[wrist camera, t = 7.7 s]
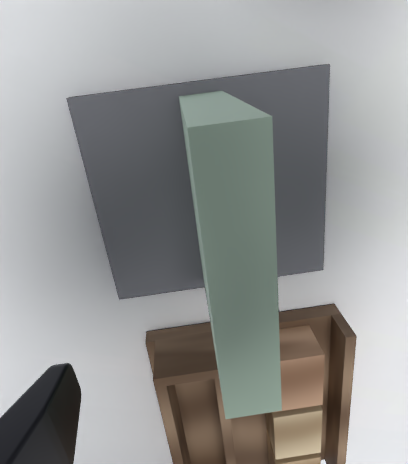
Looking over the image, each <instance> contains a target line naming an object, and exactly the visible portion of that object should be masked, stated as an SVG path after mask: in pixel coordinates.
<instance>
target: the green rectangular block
mask: <svg viewBox="0 0 408 464" xmlns="http://www.w3.org/2000/svg"><path fill="white" fill-rule="evenodd" d="M179 102H180V109H181V117H182V124H183V131H184V138H185V146H186V153H187V160H188V168H189V175H190V182H191V190H192V197H193V204H194V212H195V219H196V226H197V234H198V241H199V248H200V256H201V263H202V270H203V278H204V284H205V291H206V297H207V304H208V310H209V316H210V323H211V329H212V336H213V342H214V348H215V355H216V361H217V368H218V374H219V380H220V387H221V393H222V400H223V406H224V412H225V419H231V418H237V417H244V416H250V415H257V414H263V413H269V412H276V411H282V400H281V370H280V339H279V308H278V277H277V246H276V215H275V185H274V154H273V123H272V116H271V115H269V114H267V113H265V112H263V111H261V110H259V109H257V108H255V107H253V106H251V105H249V104H247V103H245V102H243V101H241V100H239V99H237V98H235V97H234V96H232V95H230V94H228V93H226V92H224V91H215V92H208V93H200V94H192V95H185V96H179Z"/></svg>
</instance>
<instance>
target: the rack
mask: <svg viewBox="0 0 408 464" xmlns="http://www.w3.org/2000/svg"><path fill="white" fill-rule="evenodd" d="M305 325H309V326H310V328H311V330H312V332H313V334H314V336H315V337H316V339H317V341H318V343H319V345H320V347H321V349H322V351H323V352H324V354H325V357H324V383H323V405H320V406H321V408H322V435H321V453H319V454H320V457H321V460H323V459H325V461H326V464H345V463H346V451H347V440H348V428H349V416H350V405H351V393H352V382H353V370H354V358H355V347H356V335H355V333H354V332H353V330H352V329H351V327H350V326H349V324H348V323H347V322H346V320H345V319H344V317H343V316H342V314H341V313H340V311H339V310H338V308H337V307H336V305H335V304H330V305H324V306H317V307H310V308H303V309H296V310H290V311H283V312H279V329H285V328H292V327H299V326H305ZM146 347H147V351H148V355H149V359H150V364H151V368H152V372H153V382H154V386H155V390H156V394H157V398H158V402H159V406H160V411H161V415H162V419H163V423H164V427H165V431H166V435H167V440H168V444H169V448H170V452H171V456H172V460H173V464H269V461H268V445H267V426H266V413H263V414H257V415H250V416H244V417H237V418H231V419H225V412H224V406H223V400H222V393H221V387H220V380H219V374H218V368H217V361H216V355H215V348H214V342H213V336H212V329H211V323H210V322H209V323H202V324H195V325H188V326H181V327H175V328H168V329H161V330H154V331H148V332H146Z"/></svg>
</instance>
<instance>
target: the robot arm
mask: <svg viewBox="0 0 408 464" xmlns="http://www.w3.org/2000/svg"><path fill="white" fill-rule="evenodd" d="M80 403H81V389H80V386H79V383H78V380H77V378H76V375H75V372H74V370H73V367H72V365H71V364H69V363H64V364H58V365H53V366H51V367H50V368H48V369H47V370H46V371H45V372H44V374H43V375H42V376H41V377H40V378H39V379H38V380H37V381H36V382H35V383H34V384H33V385H32V386H31V387H30V388H29V389H28V390H27V391H26V392H25V393H24V394H23V395H22V396H21V397H20V398H19V399H18V400H17V401H16V402H15V403H14V404H13V405H12V406H11V407H10V408H9V409H8V410H7V411H6V412H5V414H4V415H3V416H2V417H1V418H0V464H73V461H74V454H75V445H76V437H77V429H78V420H79V412H80Z"/></svg>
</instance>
